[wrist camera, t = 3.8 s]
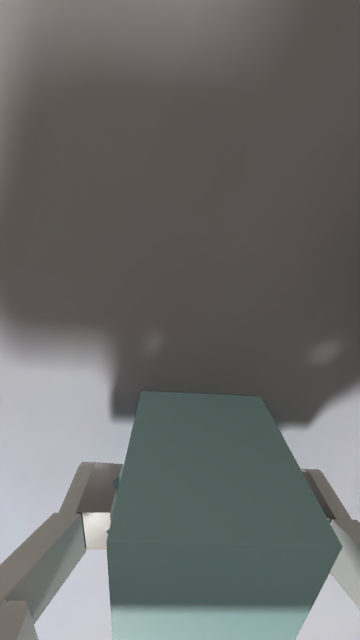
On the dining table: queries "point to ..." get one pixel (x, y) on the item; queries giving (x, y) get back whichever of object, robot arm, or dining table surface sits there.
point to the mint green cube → (213, 525)
